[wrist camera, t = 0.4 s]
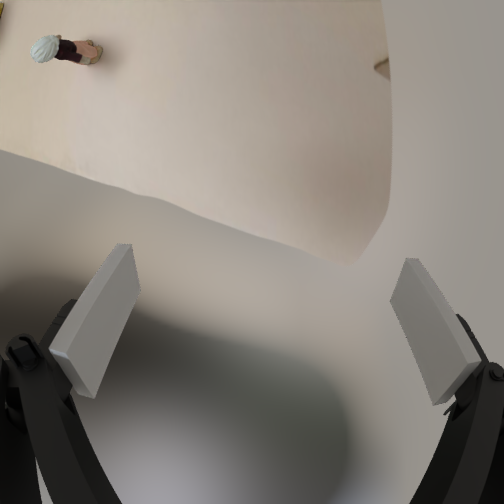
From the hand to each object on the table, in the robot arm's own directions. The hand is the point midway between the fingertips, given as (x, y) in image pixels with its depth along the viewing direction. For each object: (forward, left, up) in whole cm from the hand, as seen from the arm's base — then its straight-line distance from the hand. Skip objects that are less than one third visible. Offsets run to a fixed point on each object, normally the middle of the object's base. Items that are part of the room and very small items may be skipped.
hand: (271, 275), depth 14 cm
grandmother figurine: (-16, -24, -28) cm, 40 cm away
